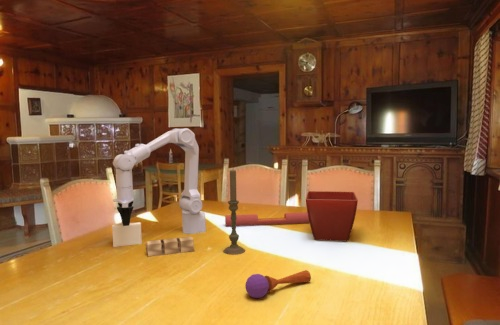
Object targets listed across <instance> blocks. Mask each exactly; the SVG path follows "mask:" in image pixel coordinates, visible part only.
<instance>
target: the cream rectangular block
mask: <svg viewBox="0 0 500 325" xmlns="http://www.w3.org/2000/svg"><path fill="white" fill-rule="evenodd" d="M111 229H112V247H113V248H116V247H124V246H134V245H142V244H143V242H142V241H143V240H142V239H143V238H142V222H130V224H129V226H123V224H122V223H118V224H117V223H116V224H112V228H111Z"/></svg>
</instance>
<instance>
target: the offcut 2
mask: <svg viewBox="0 0 500 325" xmlns="http://www.w3.org/2000/svg"><path fill="white" fill-rule="evenodd" d="M178 238H179V246H180V251H181V252H185V253H189V252H188V251H194V252H195V247H194V246H195V244H194V238H193V237H192V236H183V238H181V237H178Z"/></svg>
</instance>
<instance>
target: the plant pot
mask: <svg viewBox="0 0 500 325" xmlns="http://www.w3.org/2000/svg"><path fill="white" fill-rule="evenodd" d="M358 201H359V200H358V197H357V195H356V193H355V192H354V191H323V190H321V191H319V190H317V191H314V190H313V191H307V194H306V197H305V204H306V205H305V206H306V210H307V212H308V217H309V222H310V223H309V225H310V229H311V233H312V235H313V236H312V237H313V238H314V240H315V241H332V242H334V241H335V242H348V241H349V239H350V237H351V234H352V231H353V228H354V224H355V220H356V214H357V210H358Z"/></svg>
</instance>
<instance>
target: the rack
mask: <svg viewBox="0 0 500 325" xmlns="http://www.w3.org/2000/svg"><path fill="white" fill-rule="evenodd" d="M183 237H184V236H183ZM183 237H175V238H176V239H177V241H178V253H171V254H170V255H174V254H175V255H177V254H183V253H186V252H181V251H180V246H179V238H183ZM173 238H174V237H173ZM173 238H172V237H171V239H173ZM159 240H160V241H161V251H162V255H154V256H153V257H157V256H158V257H159V256H166V255H169V254H165V253H164V241H163V240H164V239H159ZM152 241H154V240H152ZM145 250H146V257H147V258H151V257H152V256H148V249H147V244H145ZM192 252H195V250H194V251H188V252H187V253H192Z"/></svg>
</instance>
